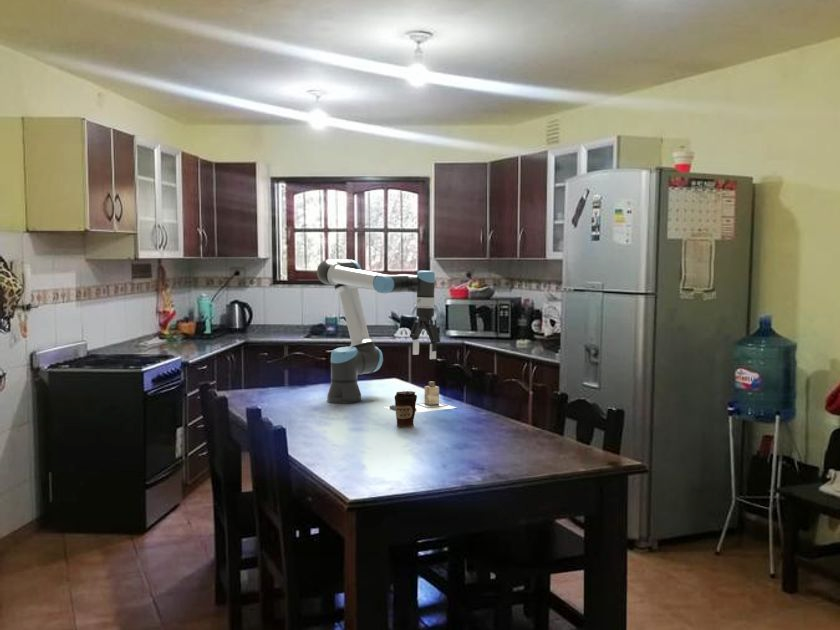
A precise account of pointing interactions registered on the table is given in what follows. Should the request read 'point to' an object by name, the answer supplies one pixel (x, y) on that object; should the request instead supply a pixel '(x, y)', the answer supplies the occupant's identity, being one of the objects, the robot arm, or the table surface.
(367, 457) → the table surface
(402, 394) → the coffee cup
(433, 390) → the stamp
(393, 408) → the ink pad
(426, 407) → the sheet
